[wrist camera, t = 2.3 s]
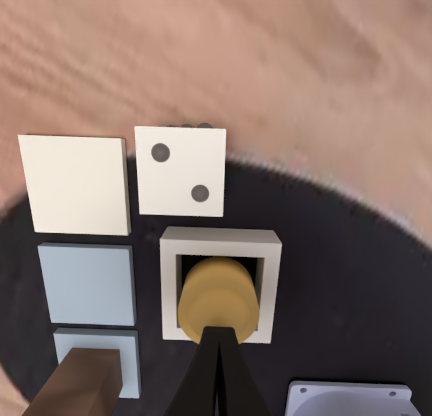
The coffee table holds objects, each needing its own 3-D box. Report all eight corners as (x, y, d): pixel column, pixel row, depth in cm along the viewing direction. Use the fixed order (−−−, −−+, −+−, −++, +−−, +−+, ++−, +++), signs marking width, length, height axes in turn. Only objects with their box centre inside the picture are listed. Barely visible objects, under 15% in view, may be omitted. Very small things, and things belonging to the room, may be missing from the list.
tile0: (137, 330, 18) (134, 336, 17) (141, 390, 19) (138, 398, 19) (58, 327, 18) (53, 333, 17) (69, 387, 19) (64, 395, 19)
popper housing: (273, 230, 15) (282, 243, 13) (264, 318, 17) (270, 343, 15) (168, 226, 15) (160, 239, 13) (169, 315, 17) (162, 339, 15)
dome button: (255, 257, 14) (268, 295, 11) (250, 318, 15) (259, 370, 12) (184, 255, 14) (172, 291, 11) (184, 315, 15) (173, 366, 12)
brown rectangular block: (119, 349, 17) (69, 451, 12) (123, 386, 18) (78, 497, 12) (71, 347, 17) (-3, 448, 12) (77, 384, 18) (11, 494, 12)
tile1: (131, 245, 16) (128, 249, 15) (136, 319, 17) (133, 325, 17) (44, 242, 16) (37, 246, 15) (56, 316, 17) (51, 322, 17)
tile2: (124, 138, 14) (120, 138, 13) (131, 231, 15) (127, 235, 15) (26, 135, 14) (17, 134, 13) (42, 228, 16) (35, 231, 15)
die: (224, 128, 14) (226, 121, 10) (222, 198, 15) (222, 218, 11) (153, 126, 14) (124, 117, 10) (155, 196, 15) (131, 215, 11)
